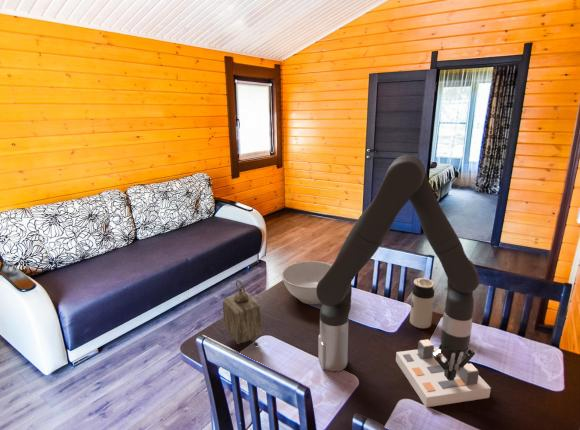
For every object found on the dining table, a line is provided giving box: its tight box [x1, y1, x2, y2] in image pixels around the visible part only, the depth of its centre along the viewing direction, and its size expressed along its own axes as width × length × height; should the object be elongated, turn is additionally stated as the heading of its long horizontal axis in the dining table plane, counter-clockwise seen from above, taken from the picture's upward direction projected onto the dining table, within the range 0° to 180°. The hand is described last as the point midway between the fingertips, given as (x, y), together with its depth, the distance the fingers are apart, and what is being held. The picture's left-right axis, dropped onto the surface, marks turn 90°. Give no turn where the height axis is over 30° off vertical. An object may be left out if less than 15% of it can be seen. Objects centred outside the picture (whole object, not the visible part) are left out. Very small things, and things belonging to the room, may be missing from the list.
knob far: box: [417, 339, 435, 359], centre depth 118 cm, size 4×4×5 cm
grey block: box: [459, 363, 480, 385], centre depth 106 cm, size 4×4×5 cm
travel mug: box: [409, 277, 435, 329], centre depth 140 cm, size 8×8×18 cm
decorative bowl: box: [281, 260, 333, 305], centre depth 162 cm, size 27×27×12 cm
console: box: [395, 346, 492, 408], centre depth 113 cm, size 20×20×4 cm
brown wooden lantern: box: [222, 279, 263, 347], centre depth 130 cm, size 14×9×25 cm, turn 32°
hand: (449, 378), depth 106 cm, fingers closed
